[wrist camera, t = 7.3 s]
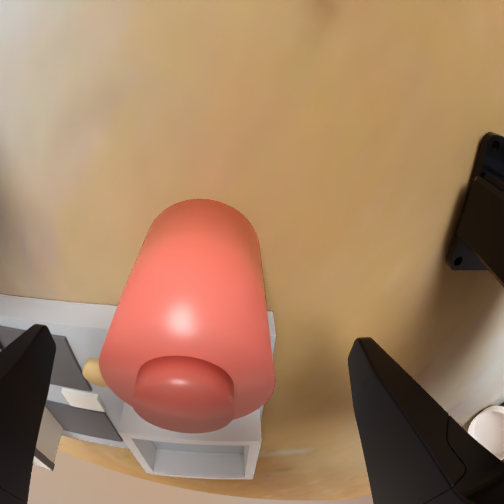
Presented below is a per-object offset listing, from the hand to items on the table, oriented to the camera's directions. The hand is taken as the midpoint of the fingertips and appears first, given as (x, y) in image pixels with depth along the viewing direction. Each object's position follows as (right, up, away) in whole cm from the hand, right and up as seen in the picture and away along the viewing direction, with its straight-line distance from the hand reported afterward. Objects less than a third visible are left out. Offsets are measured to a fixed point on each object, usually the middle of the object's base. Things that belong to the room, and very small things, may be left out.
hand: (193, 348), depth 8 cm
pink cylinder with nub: (0, +3, +4) cm, 5 cm away
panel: (-7, -6, +9) cm, 13 cm away
